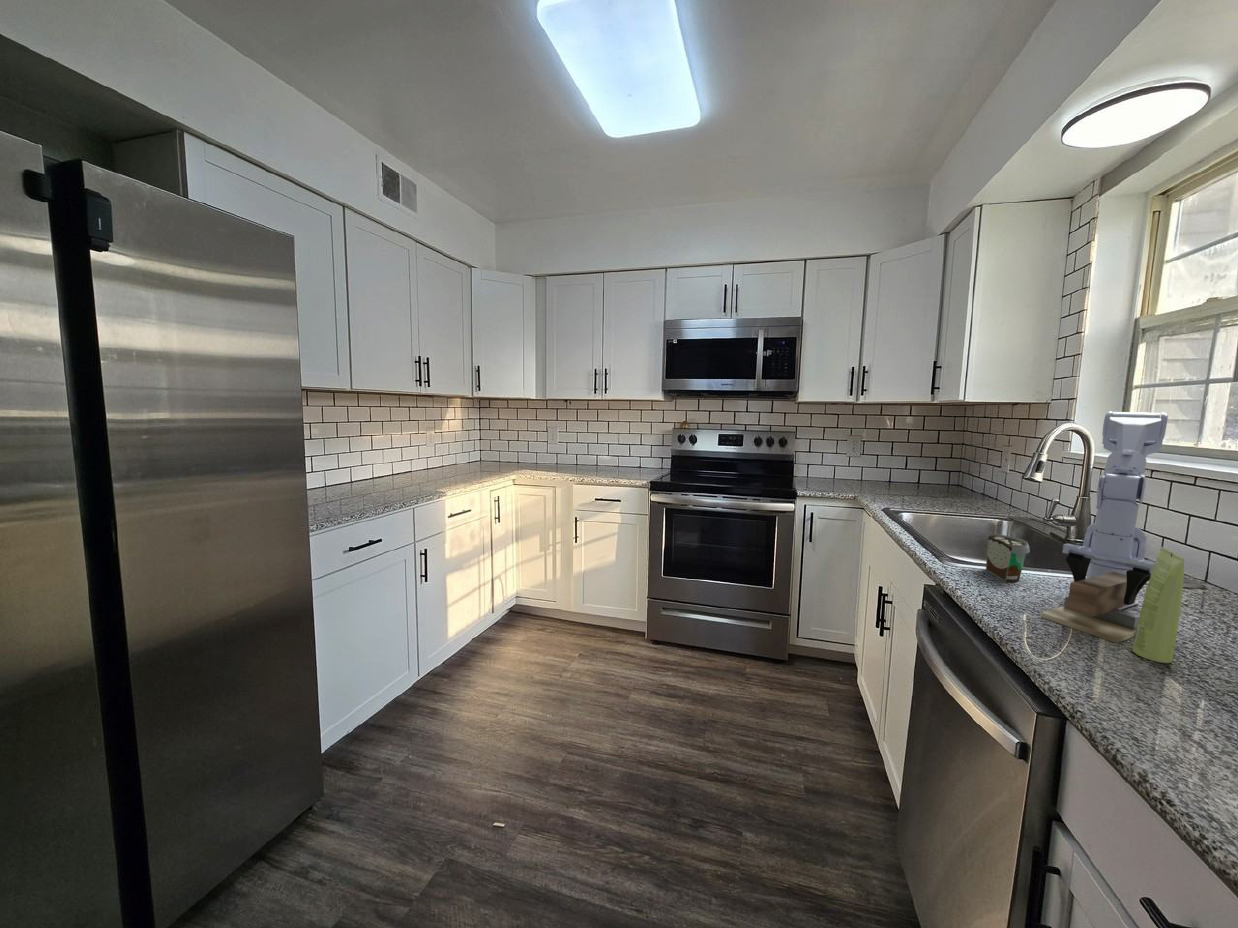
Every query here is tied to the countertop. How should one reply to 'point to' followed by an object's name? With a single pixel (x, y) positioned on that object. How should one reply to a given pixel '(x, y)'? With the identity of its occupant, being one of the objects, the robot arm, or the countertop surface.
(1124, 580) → the walnut bar
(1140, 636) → the tube
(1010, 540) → the food container
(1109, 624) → the balance stand
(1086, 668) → the countertop surface
